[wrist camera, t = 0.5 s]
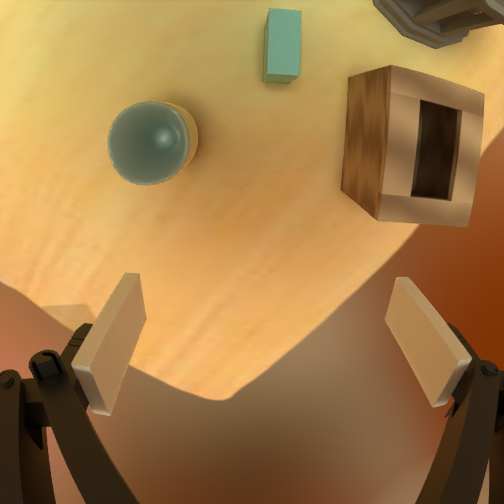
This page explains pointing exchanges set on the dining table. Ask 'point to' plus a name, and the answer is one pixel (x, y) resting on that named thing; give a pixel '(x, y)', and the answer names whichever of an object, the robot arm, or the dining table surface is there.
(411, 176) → the coin box
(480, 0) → the lantern
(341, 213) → the dining table surface
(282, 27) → the block
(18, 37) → the dining table surface
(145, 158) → the cup
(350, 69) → the dining table surface
